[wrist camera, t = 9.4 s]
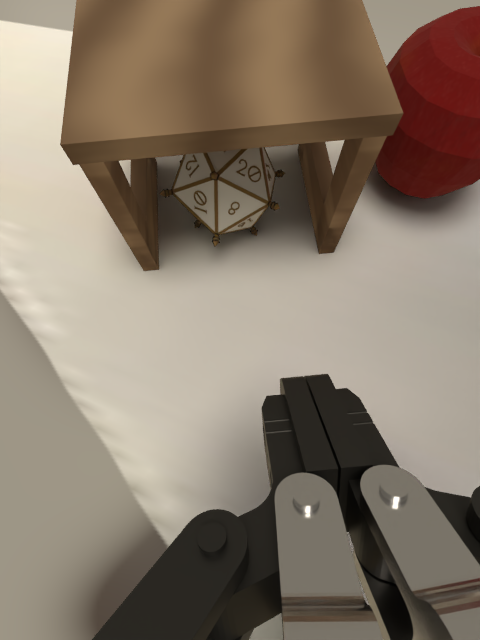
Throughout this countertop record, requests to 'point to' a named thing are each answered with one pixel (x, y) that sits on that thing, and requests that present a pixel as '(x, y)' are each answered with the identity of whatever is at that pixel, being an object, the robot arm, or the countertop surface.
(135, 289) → the countertop surface
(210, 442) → the countertop surface
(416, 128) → the apple
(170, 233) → the countertop surface
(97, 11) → the tunnel
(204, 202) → the game die
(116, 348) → the countertop surface
